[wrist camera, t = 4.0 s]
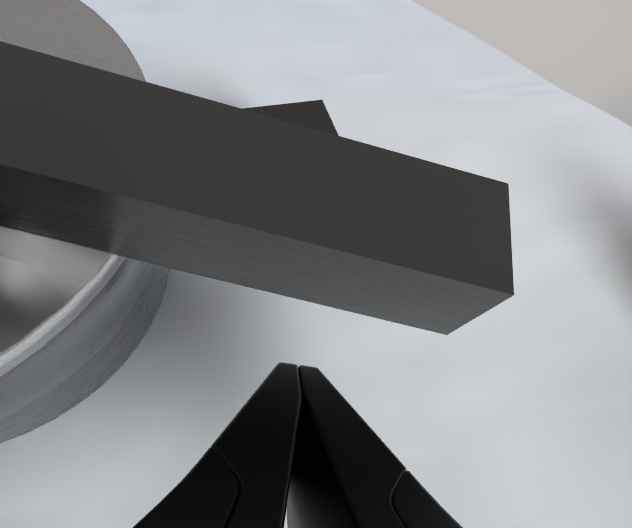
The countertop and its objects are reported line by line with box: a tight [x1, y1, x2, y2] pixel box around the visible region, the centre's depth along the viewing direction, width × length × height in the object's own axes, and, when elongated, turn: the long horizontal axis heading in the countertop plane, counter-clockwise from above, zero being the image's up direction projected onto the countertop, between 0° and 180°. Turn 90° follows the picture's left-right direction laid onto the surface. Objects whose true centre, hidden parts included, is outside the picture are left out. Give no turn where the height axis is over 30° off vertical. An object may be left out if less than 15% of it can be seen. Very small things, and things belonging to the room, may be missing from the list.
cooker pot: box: [0, 100, 338, 443], centre depth 15 cm, size 26×15×7 cm, turn 110°
